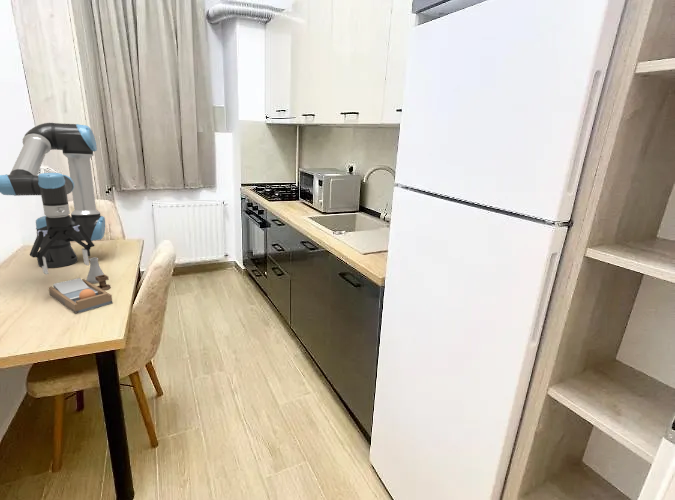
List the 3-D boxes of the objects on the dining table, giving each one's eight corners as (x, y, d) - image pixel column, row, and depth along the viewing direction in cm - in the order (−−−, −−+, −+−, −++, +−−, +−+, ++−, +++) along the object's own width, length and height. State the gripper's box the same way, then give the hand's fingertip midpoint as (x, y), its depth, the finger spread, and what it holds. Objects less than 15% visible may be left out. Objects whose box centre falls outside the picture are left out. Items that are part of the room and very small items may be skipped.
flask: (110, 279, 157) (107, 257, 154) (95, 284, 151) (91, 262, 148) (98, 276, 159) (95, 255, 157) (82, 281, 153) (79, 259, 150)
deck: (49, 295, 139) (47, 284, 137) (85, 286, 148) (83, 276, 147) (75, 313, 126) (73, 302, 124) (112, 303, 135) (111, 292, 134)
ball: (77, 298, 133) (75, 289, 130) (92, 292, 136) (90, 284, 133) (84, 307, 131) (82, 299, 128) (98, 301, 135) (97, 293, 131)
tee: (93, 288, 147) (92, 276, 145) (107, 285, 151) (105, 273, 149) (99, 291, 144) (97, 279, 143) (112, 288, 148) (111, 276, 147)
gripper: (18, 222, 121) (30, 280, 128) (99, 212, 141) (106, 263, 148) (11, 218, 125) (23, 274, 132) (90, 209, 145) (97, 259, 152)
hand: (67, 268), depth 140 cm, fingers open, 13 cm apart
